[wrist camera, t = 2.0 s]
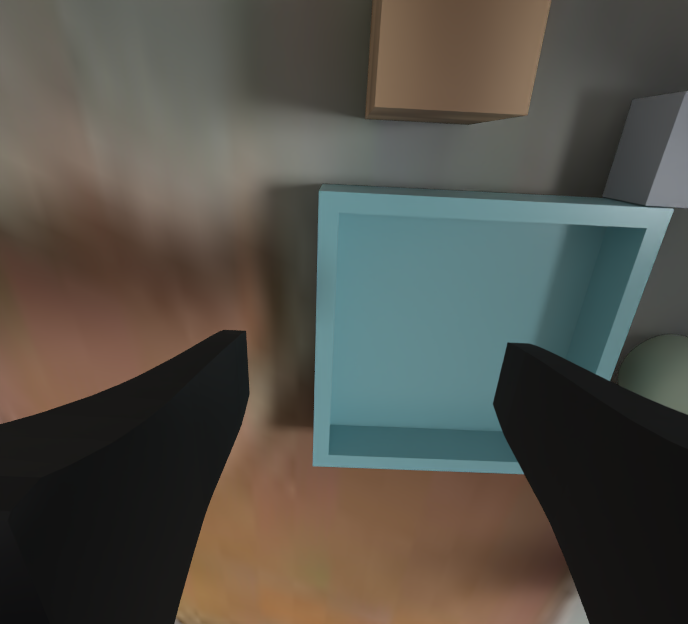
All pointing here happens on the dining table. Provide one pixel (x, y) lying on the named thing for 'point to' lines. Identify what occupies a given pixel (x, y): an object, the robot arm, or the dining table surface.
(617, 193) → the slate block
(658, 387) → the sage cylinder
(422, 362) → the tray
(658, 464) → the robot arm
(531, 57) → the walnut block
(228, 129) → the dining table surface
